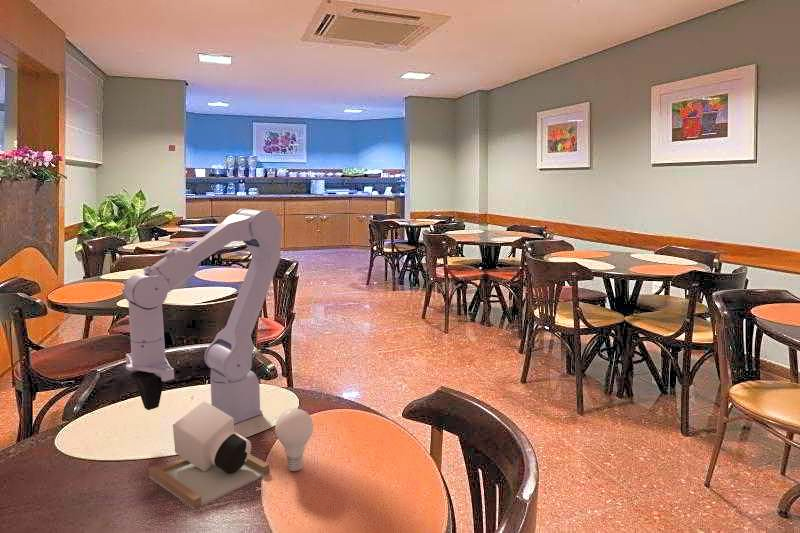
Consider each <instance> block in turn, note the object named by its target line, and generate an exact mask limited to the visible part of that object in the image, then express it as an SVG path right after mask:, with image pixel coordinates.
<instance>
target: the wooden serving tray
mask: <svg viewBox="0 0 800 533" xmlns="http://www.w3.org/2000/svg"><path fill="white" fill-rule="evenodd" d="M270 471H271V470H270V464H269V463H268V462H265V461H264V460H262V459H260V458H258V457H256V456H254V455H253V454H251V453H250V455H249V457H248V459H247V461H246V462H245V464H244V465H243V466H242V467H241V468H240V469H239V470H238V471H236V472H235V473H231V474H228V473H226V472H225V471H223V470H222V469H220V468H218V467H217V466H215V465H214V464H213V465H212V466H211V467H210V468H209V469H208V470H207V471H203V470H201V469H200V468H198V467H196V466H195V465H193V464H192V463H190V462H189V461H187V460H186V459H184V458H183V457H181V458H180V459H178V460H175V461H172V462H170V463H167V464H166V465H162V466H161V467H159V466H157V465H155V466H152V467H150V468H148V478H149V479H151V480H152V481H154V482H155V483H156V484H158V485H159V486H161V487H162V488H164V490H166V491H167V492H169V493H171V495H173V496H175V498H177V499H178V500H180V501H181V502H183V503H184V504H186V505H187V506H188V507H190V508H191V509H193V510H197V509H199V508H200V507H202V506H205V505H207V504H209V503H211V502H214V501H215V500H218V499H219V498H221V497H223V496H225V495H228V494H230V493H232V492H234V491H237V490H239V489H240V488H242V487H244V486H247V485H248V484H250V483H253V482H254V481H257V480H259V479H260V478H263V477H265V476H267V475H268V474H270V473H271V472H270Z"/></svg>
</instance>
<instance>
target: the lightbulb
mask: <svg viewBox="0 0 800 533" xmlns="http://www.w3.org/2000/svg"><path fill="white" fill-rule="evenodd" d="M313 422H314V421H313V420H312V417H311V415H310V414H309V413H308V412H307V411H305V410H303V409H300V408H296V407H295V408H288V409H287V410H285V411H283V412H282V413H280V415H279V416H278V418H277V420H276V423H275V425H274V429H275V431H274V432H275V436H276V437H277V439H278V441H279V443H280V444H281V445H282V446H283V448H284V449H283V450H284V453H285V454H286V463H287V464H286V465H287V466H286V468H287V470H288V471H290V472H291V471H292V472H298V471H300V470H302V469H303V467H304V463H303V462H304V461H303V458H304V456H303V455H304V453H305V449H306V448H305V447H306V445H307V443H308V442H309V440H310V438H311V437H312V435H313V432H314V423H313Z"/></svg>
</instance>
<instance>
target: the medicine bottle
mask: <svg viewBox="0 0 800 533" xmlns="http://www.w3.org/2000/svg"><path fill="white" fill-rule="evenodd" d="M172 425H173V426H172V431H173V433H172V434H173V442H174V443H173V444H174V452H175V454H177V455H178V456H180V457H181V458H184V459H186V460H187V461H189V462H190V463H192V464H193V465H195V466H196V467H198V468H200V469H201V470H203V471H207V470H208V469H209V468H210V467H211V466H212V465H213V464H214V465H215V466H217V467H218V468H220V469H222V470H223V471H225V472H226V473H228V474H231V473H235V472H236V471H238V470H239V469H240V468H241V467H242V466H243V465H244V464H245V462H246V461H247V459H248V457H249V455H250V454H251V451H252V442H251V441H250V440H249V439H247V438H245V437H244V436H242V435H241V434H239V433H237V432H236V431H234V430H235V424H234V418H232V417H231V416H229V415H227V414H226V413H224V412H222V411H221V410H219V409H217V408H216V407H214V406H212V405H211V404H210V403H209V402H207V401H205V400H203V401H201V402H200V403H198V405H196V406H195V407H194V408H193V409H191V410H190V411H189V412H187V413H186V414H185V415H183V416H182V417H181V418H180V419H179V420H177V421H176V422H175V423H174V424H172Z"/></svg>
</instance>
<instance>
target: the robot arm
mask: <svg viewBox="0 0 800 533" xmlns="http://www.w3.org/2000/svg"><path fill="white" fill-rule="evenodd" d="M283 230H284V228H283V226H282V224H281V221H280V219H279V217H277V215H276V214H275V213H273V212H272V211H270V210H258V209H250V208H246V207H245V208H240V209H238V210H237V211H236V212H235V213H234V214H233V213H232V214H230V215H228V216H227V217H226V218H225V219H224V220H223V221H222V222H220V224H218V225H217V226H215V227H214V228H213V229H212V230H210V231H209V232H208V233H207V234H205V235H203V236H202V237H201V238H200V239H199V240H198V241H196V242H195V243H194V244H192V245H191V246H189V248H187V249H184V248H176V249H174V250H173V249H169V250H167V251H166V252H164V255H165V256H164V257H163V258H161V259H160V260H158V261H157V262H155V263H153V265H151V266H148V265H147V266H146V267H144V268H143V271H144V273H141V272H140V273H136V274H133V275H130V277H129V278H128V279H127V280H126V283H125V284H124V286H123V289H122V290H121V291H122V295H123V297H124V298H125V299H126V301H127V302H128V312H129V313H128V322H129V324H128V325H129V338H130V351H131V352H130V353H126V354H125V362H126V365H125V369H126V370H127V371H130V372H131V371H133V372H131V373H130V374H129V376H130V378H131V380H132V381H133V383H134V384H135V386H136V388H137V390H138V393H139V396H140V399H141V400H142V401H141V402H142V404H143V407H144V409H145V410H147V411H150V410H153V409H156V408H159V407H160V402H161V397H162V392H163V390H164V386H165V385H166V382H167V381H168V382H169V381H172V380H174V379H175V369H174V368H173V367H172V366H171V365H170V363H169V362H168V359H167V358H166V348H165V347H166V346H165V345H166V344H165V343H166V342H165V331H164V329H165V328H164V313H163V304H164V303H165V301H166V300H167V297H168V294H169V293H170V292H172V291H173V290H175V289H176V288H177V287H178V286H180V285H181V284H182V283H184V282H185V281H187V280H188V279H189V278H191V277H192V276H193V275H195V274H196V273H197V272H198V267H199V264H200V263H201V262H203V261H204V260H205V259H208V258H209V257H210V256H213V255H214V254H215V253H216V252H218V251H219V250H221V249H223V248H224V247H225V246H227V245H229V244H231V243H232V242H242V243H244V244H245V245H246V247H247V249H248V251H249V252H250V254H251V261H250V263H249V266H248V268H247V271H246V274H245V276H244V278H243V281H242V284H241V285H240V289H239V290H238V291H239V292H238V294H237V297H236V299H235V302H234V305H233V307H232V310H231V311H230V315H229V317H228V319H227V323H226V325H225V327H224V328H223V329H220V331H219V332H217V333H216V335H215V336H214V337H215V338H214V340H213V341H212V342H211V343H210V344H209V345H208V346H207V348H206V349H205V352H204V362H205V364H206V366H207V367H208V368H210V374H209V376H210V378H209V379H210V381H209V382H210V400H211V401H210V402H211V405H212V406H214V407H216V408H217V409H219V410H221V411H222V412H224V413H226V414H227V415H229V416H231V417H232V418H234V425H235V424H237V423H241V422H243V421H246V420H248V419H252V418H254V417H257V416H259V415H262V414H263V410H261V396H260V394H261V392H260V388H261V387H260V381H259V379H258V376H257V374H256V373H255V372H254V371H252V370H251V369H252V366H253V359H252V357H253V352H254V349H255V346H254V342H253V340H252V333H253V332H254V328H255V326H256V324H257V321H258V318H259V315H260V313H261V311H262V307H263V306H264V305H263V304H264V303H265V302H264V301H265V300H266V297H267V294H268V292H269V289H270V286H271V283H272V281H273V279H274V276H275V274H276V271H277V268H278V266H279V263H280V260H281V255H282V251H281V235H282V233H283Z"/></svg>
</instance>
